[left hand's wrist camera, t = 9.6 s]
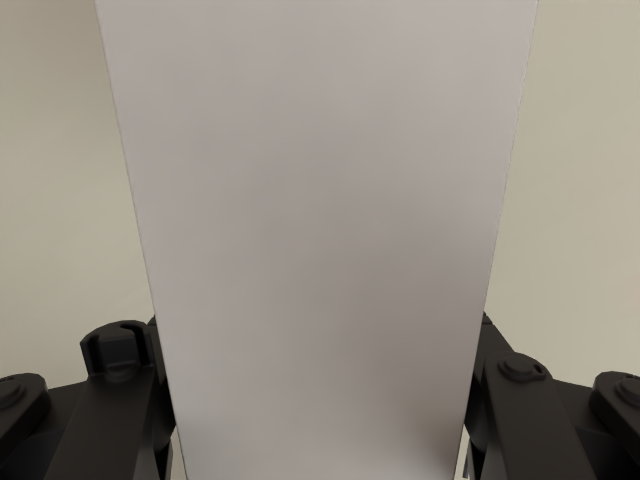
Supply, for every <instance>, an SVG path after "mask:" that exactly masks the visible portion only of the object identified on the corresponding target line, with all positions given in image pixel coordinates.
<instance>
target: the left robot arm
mask: <svg viewBox="0 0 640 480" xmlns="http://www.w3.org/2000/svg"><path fill="white" fill-rule="evenodd" d="M80 346H81V350H82V354H83V357H84V361H85V364H86V368H87V372H88V375H89V376H88V378H87V381H84V382H80V383H76V384H71V385H67V386H62V387H57V388H53V389H47V385H46V382H45V379H44V378H43V377H41V376H40V375H39V374H33V373H23V374H15V375H11V376H7V377H4V378H1V379H0V480H170V477H171V468H172V458H173V450H172V444H171V439H170V437H171V435H172V433H173V430H174V428H175V426H176V421H175V416H174V411H173V406H172V400H171V395H170V390H169V385H168V380H167V375H166V369H165V364H164V359H163V354H162V349H161V344H160V338H159V333H158V328H157V323H156V318H155V314H154V317H152V318H151V320H150V321H149V323H148V324H147V325H146V324H145V323H144V322H140V321H136V320H123V321H118V322H113V323H109V324H107V325H104V326H102V327H99V328H97V329H95V330H94V331H92V332H90V333H89V334H87V335H86V336H85V337H84V338H83V340H82V341H81V342H80ZM464 424H465V427H466V429H467V431H468V434H469V436H470V439H469V444H468V449H467V454H466V460H465V465H464V470H463V478H467V479H468V474H469V476H470V480H640V377H638V376H636V375H635V376H634V375H632V374H628V373H623V372H615V371H609V372H602V373H601V374H599V375H598V376H597V377H596V378H595V381H594V384H593V387H592V388H591V387H586V386H581V385H576V384H572V383H567V382H562V381H559V380H555V379H553V378H552V375H551V374H550V373H549V371H548V370H547V369H546V367H545V366H543V365H542V364H541V363H539V362H538V361H537V360H535V359H533V358H531V357H529V356H527V355H524V354H521V353H517V352H514V351H513V349H512V348H511V347H510V345H509V344H508V343H507V341H506V340H505V339H504V337H503V336H502V335H501V333H500V332H499V331H498V329H497V328H496V327H495V325H493V324H492V321H491V320H490V319H489V317H488V316H486V313H485V312H483V318H482V323H481V329H480V335H479V340H478V346H477V352H476V357H475V363H474V369H473V374H472V380H471V385H470V391H469V397H468V402H467V408H466V414H465V419H464Z"/></svg>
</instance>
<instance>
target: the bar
mask: <svg viewBox="0 0 640 480" xmlns="http://www.w3.org/2000/svg"><path fill="white" fill-rule="evenodd" d="M538 1H539V0H94V3H95V8H96V13H97V18H98V23H99V28H100V34H101V39H102V44H103V49H104V54H105V59H106V65H107V70H108V75H109V80H110V85H111V90H112V96H113V101H114V106H115V111H116V116H117V121H118V127H119V132H120V137H121V142H122V147H123V152H124V158H125V163H126V168H127V173H128V178H129V183H130V189H131V194H132V199H133V204H134V209H135V214H136V220H137V225H138V230H139V235H140V240H141V245H142V251H143V256H144V261H145V266H146V271H147V276H148V282H149V287H150V292H151V297H152V302H153V307H154V313H155V318H156V323H157V328H158V333H159V338H160V344H161V349H162V354H163V359H164V364H165V369H166V375H167V380H168V385H169V390H170V395H171V400H172V406H173V411H174V416H175V421H176V426H177V431H178V437H179V442H180V447H181V452H182V457H183V462H184V468H185V473H186V478H187V480H454V476H455V470H456V465H457V459H458V453H459V448H460V442H461V436H462V431H463V425H464V419H465V414H466V408H467V402H468V397H469V391H470V385H471V380H472V374H473V369H474V363H475V357H476V352H477V346H478V340H479V335H480V329H481V323H482V318H483V312H484V306H485V301H486V295H487V289H488V284H489V278H490V272H491V267H492V261H493V255H494V250H495V244H496V238H497V233H498V227H499V221H500V216H501V210H502V204H503V199H504V193H505V187H506V182H507V176H508V170H509V165H510V159H511V154H512V148H513V142H514V137H515V131H516V125H517V120H518V114H519V108H520V103H521V97H522V91H523V86H524V80H525V74H526V69H527V63H528V57H529V52H530V46H531V40H532V35H533V29H534V23H535V18H536V12H537V6H538Z"/></svg>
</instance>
